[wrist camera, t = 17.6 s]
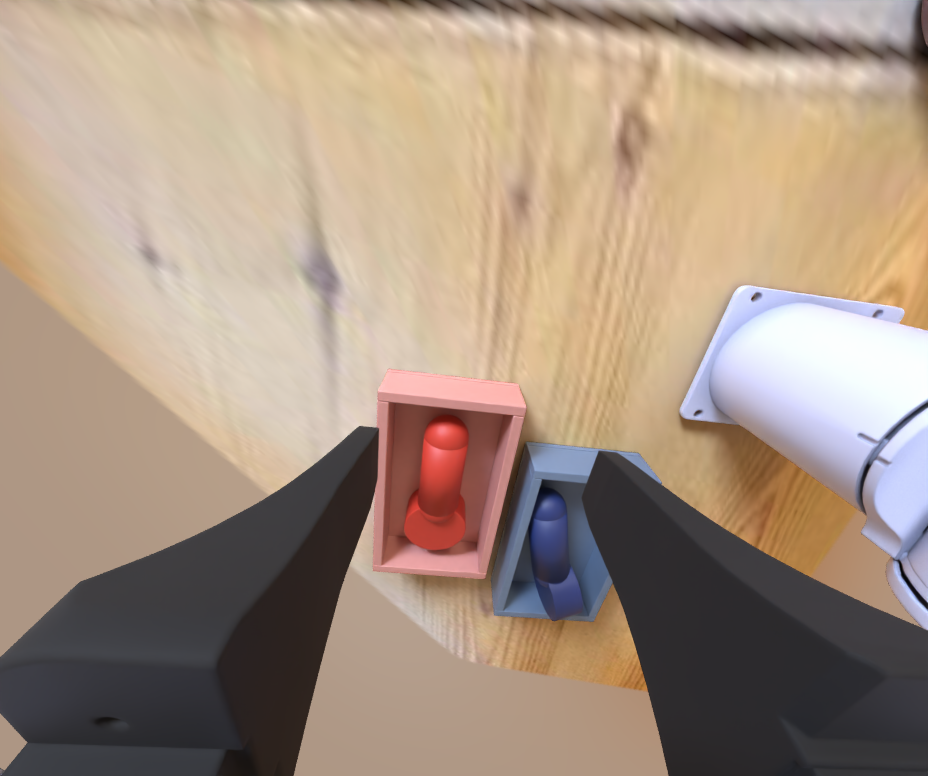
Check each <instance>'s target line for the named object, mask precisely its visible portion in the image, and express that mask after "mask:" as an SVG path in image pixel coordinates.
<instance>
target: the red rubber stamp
mask: <svg viewBox="0 0 928 776" xmlns="http://www.w3.org/2000/svg"><path fill="white" fill-rule="evenodd" d="M468 442H469V433H468V429H467V427H466V425H465V423H464V422H463V421H462V420H461V419H459V418H458V417H456V416H454V415H448V414H445V415H440V416H437V417H435V418H434V419H433V420H431V422H430V423H429V424H428V425H427V427H426V430H425V434H424V443H423V453H422V463H421V473H420V483H419V489H418V490H416V491H415V492H414V493H413V494H412V495H411V497H410V498H409V501H408V506H407V512H406V517H405V523H404V531H405V534H406V536H407V538H408V539H409V540H410V541H411V542H412V543H414V544H415V545H417V546H419V547H421V548H424V549H429V550H442V549H446V548H449V547H452V546H454V545H455V544H457V543H458V542H459V541H460V540H461V539H462V538H463V536H464V534H465V531H466V515H465V502H464V499H463V497H462V496H461V494H460V490H461V484H462V478H463V472H464V466H465V460H466V454H467V448H468Z"/></svg>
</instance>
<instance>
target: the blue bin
mask: <svg viewBox="0 0 928 776" xmlns="http://www.w3.org/2000/svg"><path fill="white" fill-rule="evenodd" d="M598 451H609V452H617V453H618V454H620V455H622V456H623V457H625V458H626V459H628V460H629V461H630V462H632V463H633V464H635V465H636V466H637V467H639V468H640V469H641V470H643V471H644V472H645V473H647V474H648V475H649V476H651V477H652V478H653V479H655V480H656V481H657V482H659V483H660V484H662V482H661V481H660V480H659V478H658V477H657V476H656V474H655V473H654V472H653V471H652V469H651V468H650V467H649V466H648V464H647V463H646V462H645V460H644V459H643V458H642V457H641V455H640V454H639V453H632V452H622V451H613V450H603V449H593V448H583V447H574V446H564V445H554V444H544V443H534V442H526V443H525V447H524V451H523V455H522V459H521V463H520V467H519V470H518V474H517V478H516V482H515V486H514V490H513V494H512V498H511V502H510V506H509V510H508V514H507V517H506V521H505V525H504V529H503V533H502V537H501V541H500V545H499V549H498V553H497V557H496V561H495V565H494V568H493V572H492V576H491V588H492V598H493V609H494V615H495V616H510V617H526V618H542V619H550V618H549V616H548V615H547V613H546V611H545V609H544V607H543V604H542V602H541V600H540V597H539V594H538V591H537V588H536V584H535V580H534V576H533V571H532V564H531V554H530V543H529V533H528V526H529V522H530V519H531V515H532V512H533V509H534V505H535V502H536V499H537V495H538V492H539V489H540V488H542V487H548V488H552V489H554V490H556V491H558V492H559V493H560V494H561V495H562V497H563V498H564V500H565V502H566V506H567V520H568V540H569V560H570V565H571V567H572V569H573V571H574V573H575V575H576V578H577V581H578V584H579V587H580V590H581V594H582V600H583V610H582V612H581V613H579V614H576V615H573V616H570V617H567V618H564V619H560V620H573V621H589V622H594V620H595V618H596V615H597V613H598V611H599V609H600V607H601V605H602V603H603V601H604V599H605V597H606V595H607V593H608V591H609V589H610V587H611V585H612V583H613V582H612V579H611V577H610V575H609V572H608V570H607V568H606V565H605V563H604V561H603V558H602V556H601V554H600V551H599V549H598V547H597V544H596V542H595V539H594V537H593V535H592V532H591V530H590V527H589V524H588V521H587V517H586V514H585V510H584V506H583V502H582V498H581V497H582V494H583V492H584V489H585V486H586V483H587V481H588V478H589V475H590V473H591V470H592V467H593V465H594V462H595V459H596V457H597V454H598Z"/></svg>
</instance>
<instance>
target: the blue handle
mask: <svg viewBox="0 0 928 776" xmlns="http://www.w3.org/2000/svg"><path fill="white" fill-rule="evenodd" d="M528 533H529V543H530V554H531V564H532V571H533V576H534V580H535V584H536V588H537V591H538V594H539V597H540V600H541V602H542V604H543V607H544V609H545V611H546V613H547V615H548V616H549V618H550V619H551V620H552V621H557V620H560V619H564V618H567V617H570V616H573V615H576V614H579V613H581V612H582V610H583V600H582V594H581V590H580V587H579V584H578V581H577V578H576V575H575V573H574V571H573V569H572V567H571V565H570V560H569V540H568V520H567V506H566V502H565V500H564V498H563V497H562V495H561V494H560V493H559V492H558V491H556V490H554V489H552V488H548V487H542V488H540V489H539V492H538V495H537V499H536V502H535V505H534V509H533V512H532V515H531V519H530V522H529V526H528Z"/></svg>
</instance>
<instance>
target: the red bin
mask: <svg viewBox="0 0 928 776" xmlns="http://www.w3.org/2000/svg"><path fill="white" fill-rule="evenodd" d="M526 409H527V406H526V404H525V401H524V398H523V396H522V393H521V390H520V388H519V385H518V384H515V383H507V382H498V381H489V380H480V379H472V378H463V377H454V376H446V375H437V374H428V373H419V372H411V371H402V370H393V369H388V370H387V373H386V375H385V377H384V379H383V381H382V383H381V386H380V388H379V390H378V402H377V428H379V450H378V479H377V484H376V488H375V509H374V546H373V571H378V572H392V573H406V574H420V575H434V576H448V577H462V578H476V579H485V578H486V573H487V569H488V565H489V561H490V557H491V553H492V549H493V545H494V541H495V536H496V532H497V528H498V524H499V520H500V516H501V512H502V508H503V504H504V500H505V495H506V491H507V487H508V483H509V479H510V475H511V471H512V467H513V463H514V459H515V455H516V450H517V446H518V442H519V438H520V434H521V430H522V426H523V422H524V416H525V414H526ZM445 414H448V415H454V416H456V417H458V418H459V419H461V420H462V421H463V422H464V423H465V425H466V427H467V429H468V433H469V442H468V448H467V454H466V460H465V466H464V472H463V478H462V484H461V490H460V494H461V496H462V497H463V499H464V502H465V515H466V531H465V534H464V536H463V538H462V539H461V540H460V541H459V542H458V543H457V544H455V545H454V546H452V547H449V548H446V549H442V550H429V549H424V548H421V547H419V546H417V545H415V544H414V543H412V542H411V541H410V540H409V539H408V538H407V536H406V534H405V531H404V523H405V517H406V512H407V506H408V501H409V498H410V497H411V495H412V494H413V493H414V492H415V491H416V490H418V489H419V483H420V473H421V463H422V453H423V443H424V434H425V430H426V427H427V425H428V424H429V423H430V422H431V420H433V419H434V418H435V417H437V416H440V415H445Z"/></svg>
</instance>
